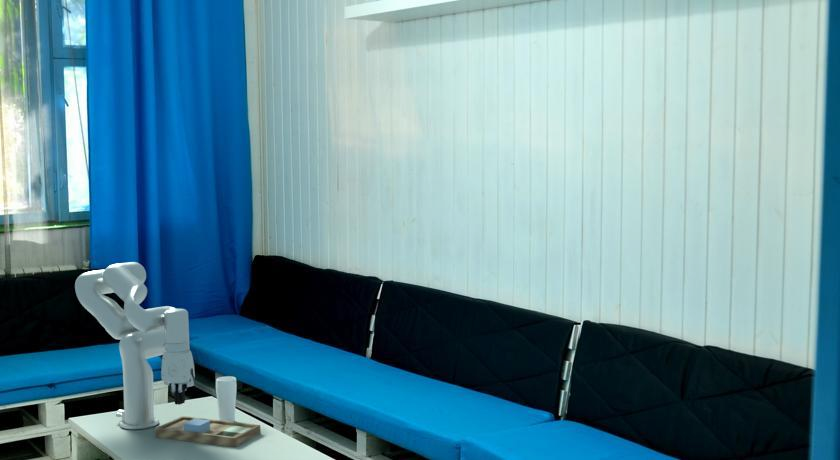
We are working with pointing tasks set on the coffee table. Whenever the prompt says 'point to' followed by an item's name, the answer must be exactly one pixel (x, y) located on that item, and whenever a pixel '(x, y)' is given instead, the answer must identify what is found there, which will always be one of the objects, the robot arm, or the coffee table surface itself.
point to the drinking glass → (226, 397)
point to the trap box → (210, 432)
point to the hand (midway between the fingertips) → (179, 403)
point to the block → (197, 425)
